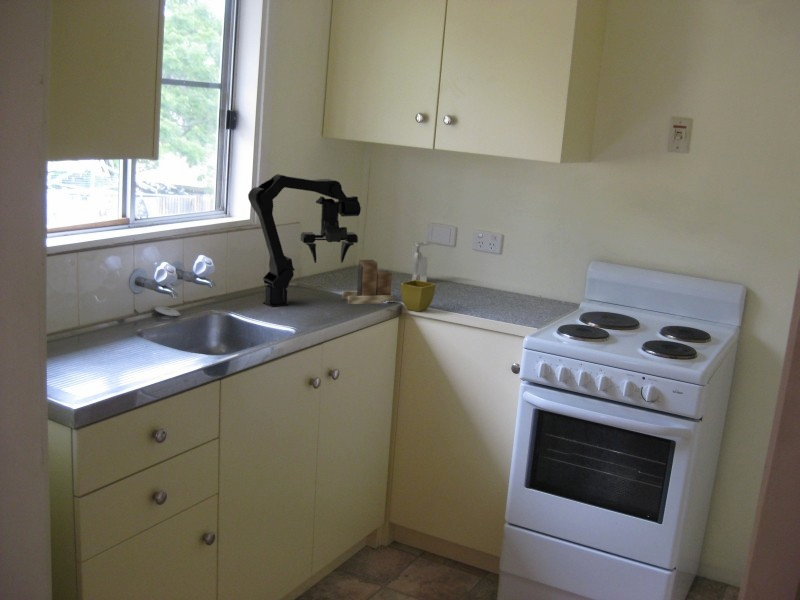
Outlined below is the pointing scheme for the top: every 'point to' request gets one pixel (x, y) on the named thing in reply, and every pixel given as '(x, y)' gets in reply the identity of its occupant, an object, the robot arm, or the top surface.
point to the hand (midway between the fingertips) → (328, 262)
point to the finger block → (367, 278)
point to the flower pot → (417, 294)
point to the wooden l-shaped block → (381, 291)
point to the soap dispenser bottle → (420, 260)
